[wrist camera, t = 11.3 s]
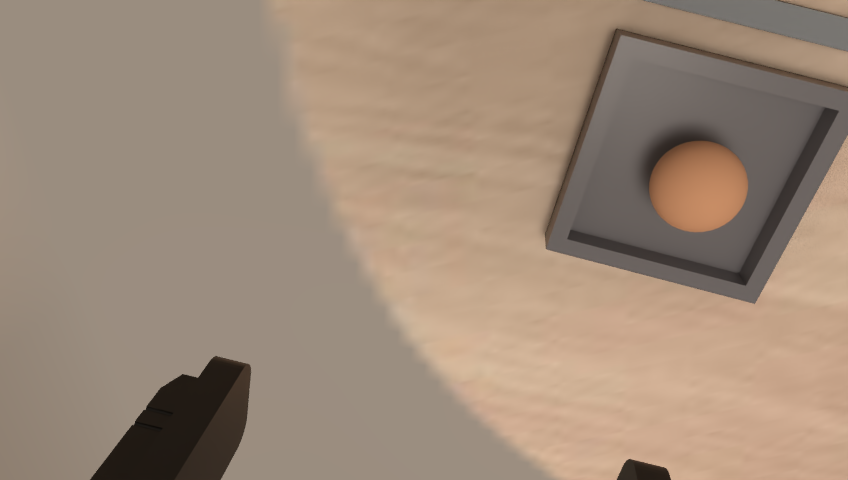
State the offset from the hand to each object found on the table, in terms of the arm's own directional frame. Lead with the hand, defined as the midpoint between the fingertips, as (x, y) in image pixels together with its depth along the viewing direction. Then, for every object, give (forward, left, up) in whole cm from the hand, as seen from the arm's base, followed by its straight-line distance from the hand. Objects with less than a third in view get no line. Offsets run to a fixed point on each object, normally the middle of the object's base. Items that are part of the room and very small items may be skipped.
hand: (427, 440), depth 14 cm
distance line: (-8, +12, -28) cm, 31 cm away
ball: (+1, +12, -25) cm, 28 cm away
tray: (+1, +12, -28) cm, 30 cm away
